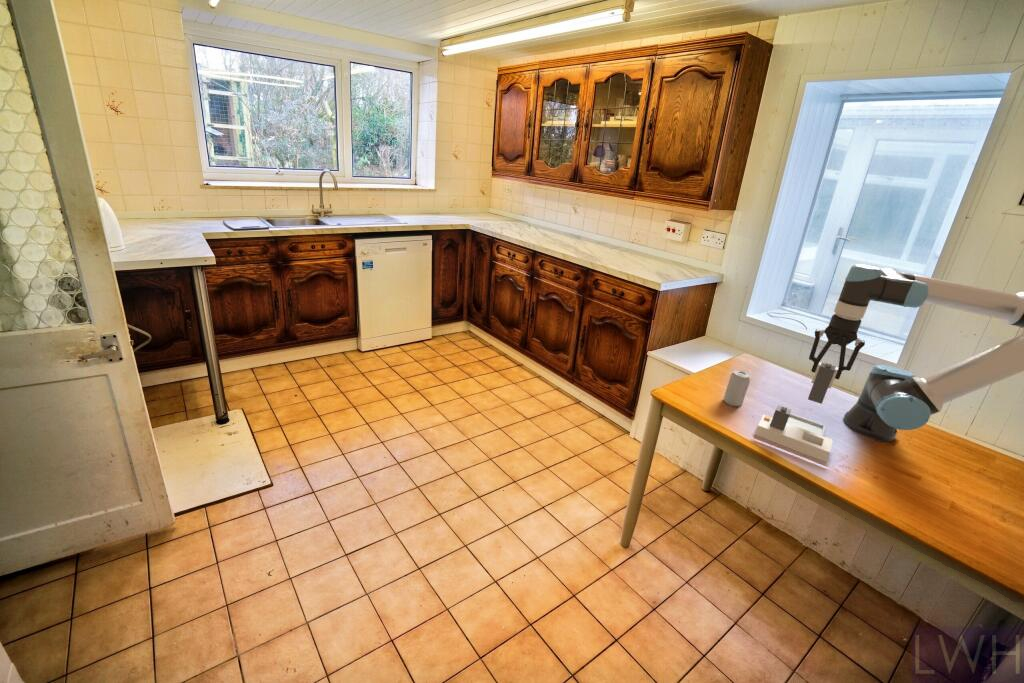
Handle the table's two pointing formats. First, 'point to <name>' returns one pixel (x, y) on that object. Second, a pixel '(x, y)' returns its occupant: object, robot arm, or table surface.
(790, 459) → the table surface
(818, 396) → the plug
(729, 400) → the beverage can
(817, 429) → the tray
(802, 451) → the strip
